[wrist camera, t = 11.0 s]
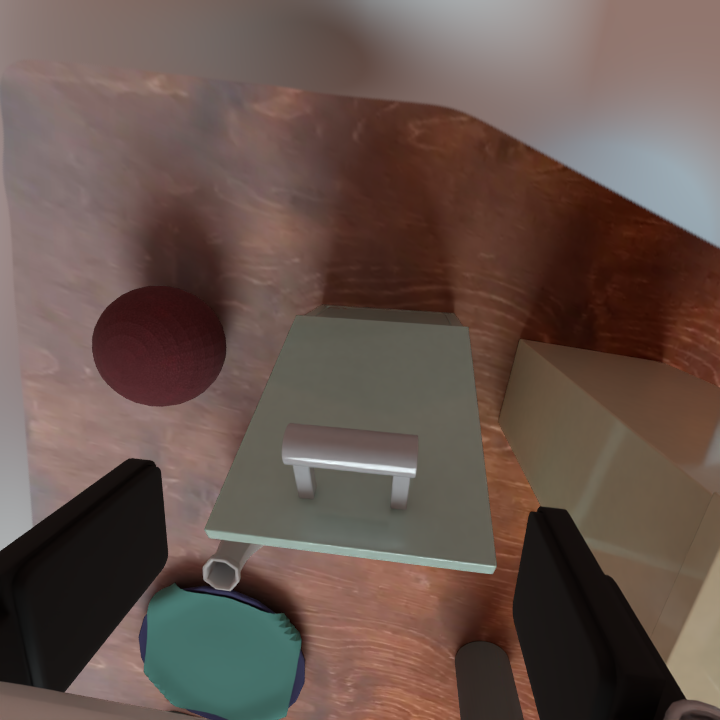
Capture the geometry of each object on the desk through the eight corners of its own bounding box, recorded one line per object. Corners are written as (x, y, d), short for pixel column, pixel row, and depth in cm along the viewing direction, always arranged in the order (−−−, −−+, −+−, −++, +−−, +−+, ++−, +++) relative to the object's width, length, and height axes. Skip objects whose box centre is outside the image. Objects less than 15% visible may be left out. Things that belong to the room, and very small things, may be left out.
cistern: (516, 334, 35) (816, 571, 9) (668, 359, 35) (1477, 701, 8) (493, 424, 38) (680, 817, 12) (634, 450, 37) (1184, 941, 11)
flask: (284, 541, 44) (249, 623, 34) (222, 517, 44) (170, 591, 34) (305, 487, 42) (274, 557, 32) (239, 461, 42) (189, 523, 32)
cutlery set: (323, 600, 45) (318, 618, 43) (283, 779, 54) (277, 802, 51) (153, 555, 47) (140, 570, 44) (140, 737, 55) (128, 758, 53)
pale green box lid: (493, 574, 16) (525, 509, 13) (208, 538, 17) (171, 470, 14) (466, 335, 28) (480, 269, 25) (297, 323, 29) (288, 259, 26)
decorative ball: (130, 353, 40) (43, 385, 31) (164, 261, 38) (80, 265, 28) (220, 402, 41) (161, 449, 31) (261, 314, 38) (210, 336, 28)
